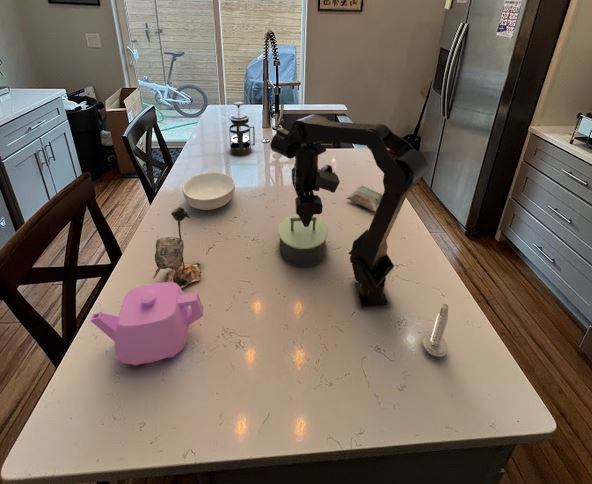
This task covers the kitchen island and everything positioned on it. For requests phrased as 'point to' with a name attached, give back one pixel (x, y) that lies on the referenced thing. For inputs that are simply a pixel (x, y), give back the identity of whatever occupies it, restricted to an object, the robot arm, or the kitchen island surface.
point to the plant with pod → (175, 256)
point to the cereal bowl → (209, 190)
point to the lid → (302, 232)
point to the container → (302, 254)
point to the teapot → (151, 322)
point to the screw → (437, 335)
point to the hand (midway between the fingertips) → (304, 215)
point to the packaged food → (366, 198)
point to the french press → (240, 133)
